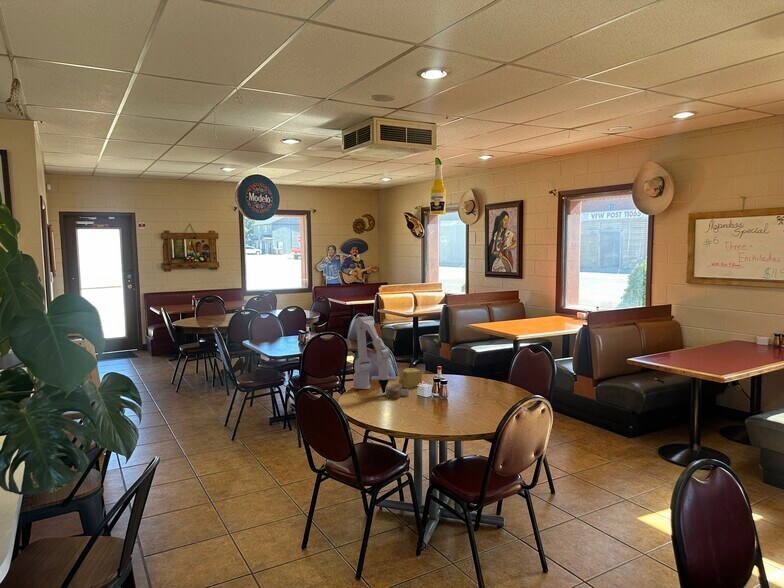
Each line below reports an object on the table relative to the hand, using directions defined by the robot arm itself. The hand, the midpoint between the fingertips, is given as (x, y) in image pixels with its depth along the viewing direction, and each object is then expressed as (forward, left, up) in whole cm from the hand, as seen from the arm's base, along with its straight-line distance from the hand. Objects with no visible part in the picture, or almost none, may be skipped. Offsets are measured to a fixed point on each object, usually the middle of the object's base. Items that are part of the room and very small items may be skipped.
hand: (383, 392), depth 314 cm
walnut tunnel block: (+7, 0, -1) cm, 7 cm away
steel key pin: (+8, +1, -1) cm, 8 cm away
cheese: (+13, +23, -2) cm, 27 cm away
